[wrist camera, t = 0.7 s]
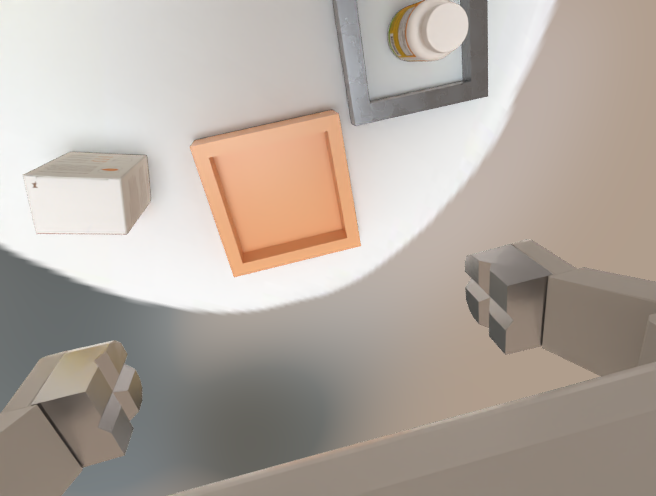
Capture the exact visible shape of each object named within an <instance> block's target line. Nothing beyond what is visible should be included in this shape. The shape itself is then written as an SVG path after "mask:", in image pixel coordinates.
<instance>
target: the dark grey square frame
mask: <svg viewBox="0 0 656 496" xmlns="http://www.w3.org/2000/svg"><path fill="white" fill-rule="evenodd" d="M332 1H333V7H334V14H335V20H336V27H337V33H338V39H339V46H340V52H341V59H342V65H343V72H344V78H345V84H346V91H347V97H348V104H349V110H350V117H351V123H352V124H353V125H355V126H358V125H362V124H367V123H371V122H375V121H380V120H384V119H389V118H393V117H398V116H402V115H407V114H411V113H415V112H420V111H424V110H429V109H433V108H438V107H442V106H447V105H451V104H455V103H460V102H464V101H469V100H473V99H478V98H482V97H487V96H488V29H487V0H460V2H461V7H462V8H463V9H464V10H465V12H466V14H467V17H468V32H467V35H466V37H465V39H464V41H463V42H462V64H463V81H460V82H455V83H451V84H446V85H442V86H437V87H433V88H428V89H424V90H419V91H415V92H410V93H406V94H401V95H397V96H392V97H388V98H383V99H378V100H374V101H370V100H369V93H368V85H367V78H366V70H365V63H364V55H363V48H362V40H361V33H360V25H359V17H358V10H357V2H356V0H332Z"/></svg>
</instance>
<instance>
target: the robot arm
mask: <svg viewBox="0 0 656 496" xmlns="http://www.w3.org/2000/svg"><path fill="white" fill-rule="evenodd" d="M465 272H466V273H467V274H468V275H469V276H470V277H471V279H470V281H469V282H468V284H467V286H466V288H465V289H466V300H467V304H468V307H469V310H470V312H471V314H472V316H473V317H474V319H475V320H476V321H477V322H478V324H480V325H483V326H485V327H488V328H489V336H490V338H491V339H492V340H493V341H494V342H495V343H496V345H497V346H498V347H499V348H500V349H501V350H502V352H503V353H505V355H506V354H511V353H515V352H519V351H524V350H527V349H532V348H536V347H540V346H542V348H543V349H545V350H547V351H549V352H551V353H554V354H556V355H558V356H560V357H562V358H564V359H566V360H568V361H570V362H573V363H574V364H577V365H579V366H581V367H583V368H585V369H587V370H589V371H591V372H593V373H595V374H597V375H600V376H601V377H598V378H594V379H591V380H587V381H584V382H580V383H576V384H573V385H569V386H566V387H562V388H558V389H555V390H551V391H547V392H544V393H540V394H536V395H533V396H529V397H525V398H521V399H518V400H514V401H511V402H507V403H504V404H499V405H496V406H492V407H488V408H485V409H481V410H478V411H474V412H470V413H467V414H463V415H460V416H455V417H452V418H448V419H444V420H441V421H437V422H433V423H430V424H426V425H422V426H419V427H415V428H412V429H408V430H404V431H400V432H397V433H393V434H389V435H386V436H382V437H378V438H375V439H371V440H367V441H364V442H360V443H357V444H353V445H349V446H346V447H342V448H338V449H335V450H331V451H327V452H324V453H320V454H317V455H313V456H309V457H306V458H302V459H298V460H295V461H292V462H288V463H284V464H280V465H277V466H273V467H269V468H266V469H263V470H259V471H255V472H251V473H248V474H244V475H241V476H237V477H233V478H229V479H226V480H222V481H218V482H215V483H211V484H208V485H204V486H200V487H197V488H193V489H189V490H186V491H182V492H178V493H175V494H171V495H167V496H656V282H655V281H650V280H645V279H640V278H635V277H630V276H625V275H620V274H615V273H610V272H605V271H600V270H595V269H590V268H585V267H583V268H579V269H577V268H575V267H574V266H572V265H571V264H569V263H568V262H566V261H564V260H563V259H561V258H560V257H558V256H557V255H555V254H553V253H552V252H550V251H549V250H547V249H546V248H544V247H543V246H541V245H539V244H538V243H536V242H535V241H533V240H527V239H526V240H522V241H519V242H515V243H512V244H508V245H505V246H502V247H498V248H494V249H490V250H486V251H483V252H479V253H476V254H472V255H468V256H467V257H466V261H465ZM126 358H127V352H126V351H125V349H124V347H123V346H122V344H121V343H120V342H117V341H115V340H114V341H110V342H105V343H101V344H96V345H92V346H87V347H83V348H78V349H74V350H70V351H64V352H60V353H57V354H53V355H49V356H46V357H43V358H41V359H40V360H39V361H38V363H37V364H36V365H35V367H34V368H33V369H32V371H31V372H30V374H29V375H28V376H27V378H26V379H25V381H24V382H23V383H22V385H21V386H20V387H19V389H18V390H17V392H16V393H15V394H14V396H13V397H12V399H11V400H10V402H9V403H8V404H7V406H6V407H5V408H4V410H3V411H2V412H1V413H0V496H61V495H62V494H63V493H64V492H65V491H66V489H67V488H68V487H69V486H70V485H71V483H72V482H73V481H74V480H75V478H76V477H77V476H78V475H79V474H80V472H81V471H82V468H83V467H86V466H90V465H93V464H97V463H100V462H104V461H107V460H110V459H114V458H117V457H121V456H124V455H125V453H126V450H127V447H128V444H129V441H130V438H131V435H132V432H133V426H132V424H131V423H130V420H131V419H132V418H133V417H134V416H135V415H136V414H137V413H138V412H139V410H140V406H141V403H142V385H141V381H140V377H139V375H138V374H137V372H136V370H135V369H134V368H132V367H130V366H128V365H126V364H125V361H126Z"/></svg>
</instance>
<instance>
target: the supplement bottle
mask: <svg viewBox="0 0 656 496" xmlns="http://www.w3.org/2000/svg"><path fill="white" fill-rule="evenodd" d="M467 32H468V17H467V14H466V12H465V10H464V9H463V8H462V7H461V6H460V5H458V4H456V3H453V2H450V1H449V0H424V1H421V2H418V3H416V4H413V5H410V6H407V7H405V8H403V9H401V10H400V11H399V12H398V13H397V14H396V15H395V16H394V17H393V19H392V20H391V22H390V25H389V28H388V44H389V47H390V49H391V51H392V52H393V54H394V55H395V56H396V57H398V58H399V59H401V60H404V61H435V60H439V59H442V58H444V57H446V56H447V55H448V54H450V53H451V52H452V51H453V50H455V49H457V48H458V47H459V46H460V45H461V44H462V42H463V41H464V39H465V37H466V35H467Z"/></svg>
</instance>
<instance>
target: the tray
mask: <svg viewBox="0 0 656 496" xmlns="http://www.w3.org/2000/svg"><path fill="white" fill-rule="evenodd" d="M190 149H191V152H192V155H193V158H194V161H195V164H196V167H197V170H198V173H199V176H200V179H201V182H202V185H203V188H204V191H205V193H206V196H207V199H208V202H209V205H210V208H211V211H212V214H213V217H214V220H215V223H216V226H217V229H218V232H219V235H220V237H221V240H222V243H223V246H224V249H225V252H226V255H227V258H228V261H229V264H230V267H231V270H232V273H233V276H234V277H237V276H241V275H245V274H249V273H253V272H257V271H261V270H266V269H270V268H274V267H278V266H282V265H286V264H290V263H294V262H298V261H302V260H306V259H310V258H314V257H318V256H322V255H326V254H330V253H334V252H338V251H342V250H346V249H350V248H354V247H359V246H361V243H360V237H359V231H358V226H357V220H356V214H355V208H354V202H353V196H352V190H351V184H350V178H349V172H348V166H347V160H346V154H345V148H344V142H343V136H342V130H341V124H340V118H339V114H338V113H337V112H335V111H333V110H329V111H324V112H320V113H315V114H311V115H306V116H302V117H297V118H293V119H288V120H284V121H279V122H274V123H270V124H265V125H261V126H256V127H252V128H247V129H243V130H238V131H234V132H229V133H225V134H220V135H216V136H211V137H207V138H202V139H198V140H194V142H193V143H192V144H191V146H190Z"/></svg>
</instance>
